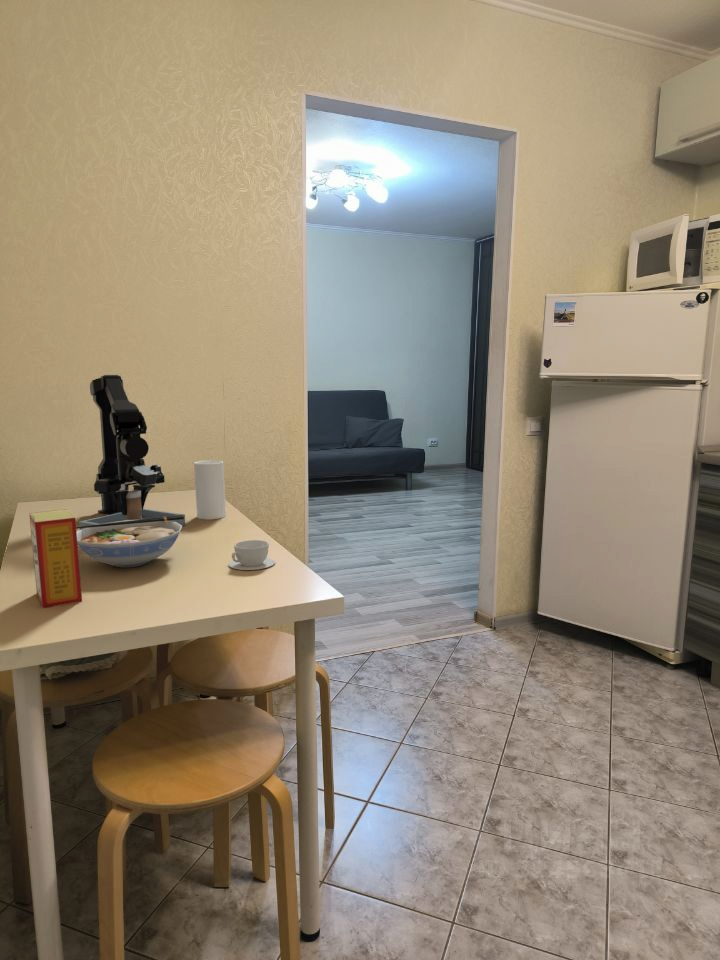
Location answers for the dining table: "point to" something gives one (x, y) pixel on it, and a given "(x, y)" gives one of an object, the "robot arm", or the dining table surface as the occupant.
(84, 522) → the tray
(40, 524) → the baking soda box
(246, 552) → the teacup
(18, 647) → the dining table surface
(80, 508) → the dining table surface
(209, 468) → the cup
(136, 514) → the shaker
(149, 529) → the ramen bowl
